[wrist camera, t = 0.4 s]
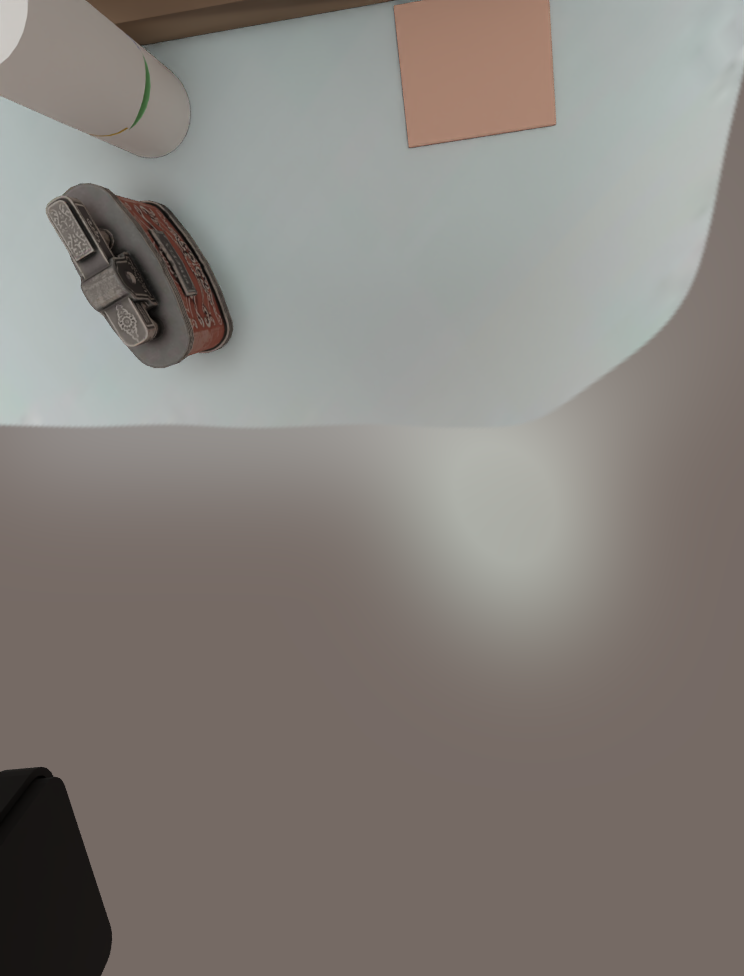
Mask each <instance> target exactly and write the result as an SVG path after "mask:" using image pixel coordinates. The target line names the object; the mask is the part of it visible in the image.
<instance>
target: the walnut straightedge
mask: <svg viewBox="0 0 744 976" xmlns="http://www.w3.org/2000/svg"><path fill="white" fill-rule="evenodd" d="M86 1H87V2H88V3H90V4H91V5H92V6H93V7H94V8H95V9H97V10H98V11H99V12H100V13H101V14H103V15H104V16H105V17H106V18H108V19H109V20H110V21H111V22H112V23H114V24H115V25H116V26H117V27H118V28H120V29H121V30H122V31H123V32H124V33H125V34H127V35H128V36H129V37H131V38H132V39H133V40H134V41H135V42H137V43H138V44H139V45H146V44H152V43H157V42H163V41H168V40H174V39H180V38H185V37H191V36H196V35H202V34H208V33H213V32H219V31H225V30H230V29H236V28H241V27H247V26H253V25H258V24H264V23H270V22H275V21H281V20H286V19H292V18H298V17H303V16H309V15H315V14H320V13H326V12H331V11H337V10H343V9H348V8H354V7H360V6H365V5H371V4H376V3H382V2H388V1H393V0H86Z"/></svg>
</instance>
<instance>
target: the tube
mask: <svg viewBox="0 0 744 976" xmlns="http://www.w3.org/2000/svg"><path fill="white" fill-rule="evenodd" d="M0 96H2V97H4V98H7V99H9V100H11V101H14V102H16V103H18V104H20V105H23V106H25V107H27V108H29V109H32V110H34V111H36V112H39V113H41V114H43V115H45V116H48V117H50V118H52V119H54V120H57V121H59V122H61V123H64V124H66V125H68V126H71V127H73V128H75V129H78V130H80V131H82V132H85V133H87V134H89V135H91V136H94V137H96V138H98V139H101V140H103V141H105V142H108V143H110V144H112V145H114V146H117V147H119V148H121V149H124V150H126V151H128V152H130V153H133V154H135V155H137V156H140V157H145V158H157V157H161V156H165V155H167V154H169V153H171V152H172V151H173V150H174V149H176V148H177V147H178V146H179V144H180V143H181V142H182V141H183V139H184V137H185V135H186V133H187V130H188V127H189V124H190V103H189V99H188V95H187V93H186V91H185V88H184V86H183V85H182V83H181V82H180V80H179V79H178V78H177V77H176V76H175V75H174V74H173V73H172V72H171V71H170V70H169V69H168V68H166V67H165V66H164V65H163V64H162V63H161V62H159V61H158V60H157V59H156V58H155V57H153V56H152V55H151V54H150V53H149V52H147V51H146V50H145V49H144V48H143V47H141V46H140V45H139V44H138V43H137V42H135V41H134V40H133V39H132V38H131V37H129V36H128V35H127V34H125V33H124V32H123V31H122V30H121V29H120V28H118V27H117V26H116V25H115V24H114V23H112V22H111V21H110V20H109V19H108V18H106V17H105V16H104V15H103V14H101V13H100V12H99V11H98V10H97V9H95V8H94V7H93V6H92V5H91V4H90V3H88V2H87V1H86V0H0Z"/></svg>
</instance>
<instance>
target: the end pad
mask: <svg viewBox="0 0 744 976" xmlns="http://www.w3.org/2000/svg"><path fill="white" fill-rule="evenodd" d="M394 14H395V23H396V33H397V42H398V51H399V60H400V70H401V79H402V88H403V97H404V107H405V116H406V125H407V134H408V144H409V148H413V147H419V146H426V145H432V144H438V143H445V142H451V141H458V140H464V139H470V138H477V137H483V136H489V135H496V134H502V133H509V132H515V131H521V130H528V129H534V128H541V127H547V126H553V125H556V114H555V96H554V78H553V60H552V42H551V24H550V6H549V0H422V1H416V2H411V3H405V4H399V5H394Z"/></svg>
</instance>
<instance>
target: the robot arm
mask: <svg viewBox="0 0 744 976" xmlns="http://www.w3.org/2000/svg"><path fill="white" fill-rule="evenodd" d="M111 943H112V931H111V926H110V923H109V920H108V917H107V914H106V911H105V908H104V905H103V902H102V898H101V895H100V893H99V889H98V886H97V883H96V880H95V877H94V874H93V871H92V868H91V865H90V862H89V859H88V856H87V852H86V850H85V846H84V843H83V840H82V837H81V834H80V831H79V828H78V825H77V822H76V819H75V816H74V813H73V810H72V807H71V804H70V800H69V797H68V794H67V791H66V788H65V785H64V783H63V781H62V780H61V779H60V778H58V777H53V775H52V773H51V772H50V771H49V770H48V769H47V768H44V767H35V768H25V769H13V770H4V771H2V772H0V976H101V974H102V972H103V970H104V968H105V965H106V963H107V961H108V958H109V955H110V950H111Z"/></svg>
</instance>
